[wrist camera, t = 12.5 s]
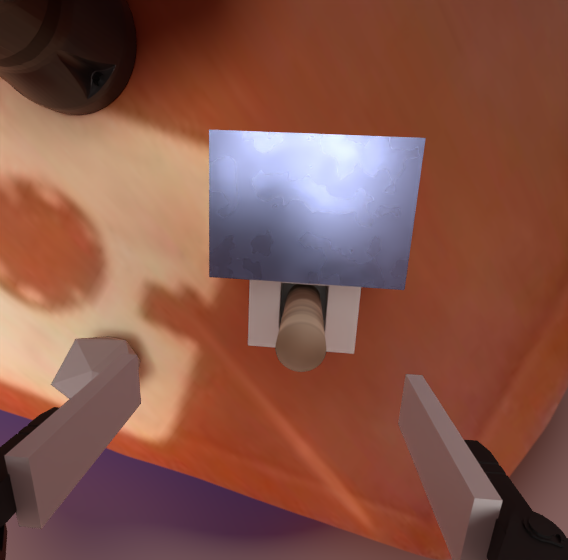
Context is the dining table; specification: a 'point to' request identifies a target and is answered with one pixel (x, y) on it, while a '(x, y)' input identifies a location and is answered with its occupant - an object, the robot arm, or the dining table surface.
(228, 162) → the slate blue panel
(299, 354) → the peg
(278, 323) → the socket block
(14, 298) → the dining table surface
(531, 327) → the dining table surface
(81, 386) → the die
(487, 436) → the dining table surface
